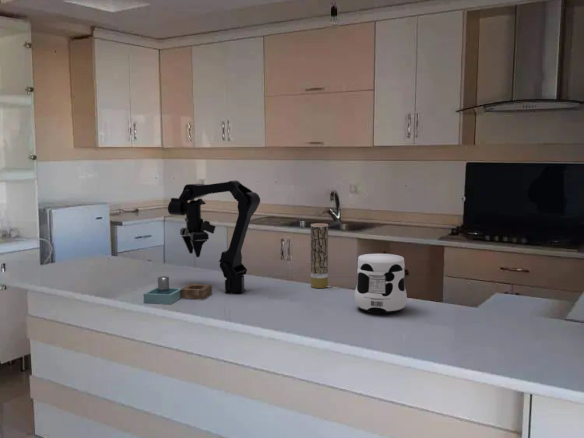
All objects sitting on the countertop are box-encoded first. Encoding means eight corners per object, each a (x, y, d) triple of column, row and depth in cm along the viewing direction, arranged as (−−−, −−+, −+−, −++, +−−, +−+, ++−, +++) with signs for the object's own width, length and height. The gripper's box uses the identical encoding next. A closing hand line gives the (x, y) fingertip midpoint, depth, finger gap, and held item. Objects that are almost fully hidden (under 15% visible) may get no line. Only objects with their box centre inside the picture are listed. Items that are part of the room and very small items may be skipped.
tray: (182, 297, 209) (182, 288, 209) (170, 304, 199) (170, 295, 199) (156, 295, 212) (156, 287, 211) (143, 302, 202) (143, 293, 201)
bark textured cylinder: (326, 289, 221) (326, 225, 218) (309, 288, 222) (309, 225, 219) (328, 285, 228) (329, 223, 225) (312, 284, 229) (312, 223, 226)
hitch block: (211, 294, 214) (211, 285, 213) (203, 299, 205) (203, 290, 205) (190, 293, 216) (190, 284, 215) (181, 298, 207) (180, 289, 207)
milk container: (389, 301, 202) (390, 251, 200) (416, 313, 186) (417, 259, 184) (345, 306, 196) (346, 254, 194) (370, 319, 180) (370, 263, 178)
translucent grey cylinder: (171, 296, 207) (170, 276, 206) (166, 299, 203) (166, 278, 202) (160, 296, 208) (160, 276, 207) (156, 298, 204) (155, 278, 203)
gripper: (221, 217, 217) (221, 257, 219) (205, 212, 233) (206, 250, 235) (192, 218, 212) (193, 259, 214) (179, 214, 228) (180, 252, 230)
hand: (194, 255), depth 223 cm, fingers open, 9 cm apart
